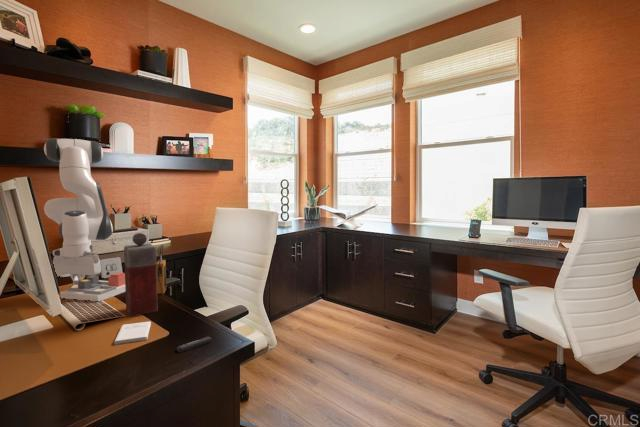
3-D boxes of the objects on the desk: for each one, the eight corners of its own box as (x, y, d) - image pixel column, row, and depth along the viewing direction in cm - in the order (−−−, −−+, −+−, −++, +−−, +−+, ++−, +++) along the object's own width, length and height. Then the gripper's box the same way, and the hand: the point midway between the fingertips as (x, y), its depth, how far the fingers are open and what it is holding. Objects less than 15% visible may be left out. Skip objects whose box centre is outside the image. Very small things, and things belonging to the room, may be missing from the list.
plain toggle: (86, 285, 142) (86, 277, 141) (92, 283, 144) (92, 275, 144) (92, 285, 141) (92, 277, 141) (99, 283, 144) (98, 275, 144)
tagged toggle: (78, 290, 135) (78, 281, 134) (85, 288, 137) (84, 279, 137) (84, 290, 134) (84, 281, 134) (91, 288, 137) (91, 279, 137)
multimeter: (142, 288, 146) (141, 243, 145) (167, 286, 149) (166, 242, 148) (135, 299, 132) (133, 249, 131) (163, 296, 135) (161, 248, 134)
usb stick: (208, 339, 97) (208, 334, 97) (212, 342, 95) (212, 337, 95) (175, 351, 90) (175, 345, 90) (179, 354, 89) (179, 348, 88)
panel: (60, 298, 132) (60, 289, 132) (99, 285, 150) (99, 278, 150) (98, 301, 128) (97, 292, 128) (133, 288, 146) (133, 280, 146)
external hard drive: (114, 346, 93) (122, 329, 105) (147, 341, 96) (151, 325, 108) (114, 341, 93) (121, 324, 105) (146, 336, 96) (151, 320, 108)
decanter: (151, 302, 128) (149, 230, 126) (157, 311, 119) (155, 233, 117) (125, 307, 123) (122, 231, 121) (129, 316, 114) (126, 235, 112)
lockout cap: (108, 286, 141) (108, 274, 141) (118, 282, 146) (117, 272, 145) (118, 286, 140) (118, 275, 140) (127, 283, 145) (127, 272, 144)
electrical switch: (102, 279, 161) (100, 260, 161) (98, 278, 165) (97, 259, 164) (123, 275, 169) (121, 257, 169) (119, 274, 172) (117, 256, 172)
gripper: (104, 250, 136) (105, 284, 137) (64, 248, 140) (65, 281, 141) (90, 253, 130) (92, 288, 131) (49, 251, 134) (50, 285, 135)
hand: (78, 284), depth 136 cm, fingers closed
